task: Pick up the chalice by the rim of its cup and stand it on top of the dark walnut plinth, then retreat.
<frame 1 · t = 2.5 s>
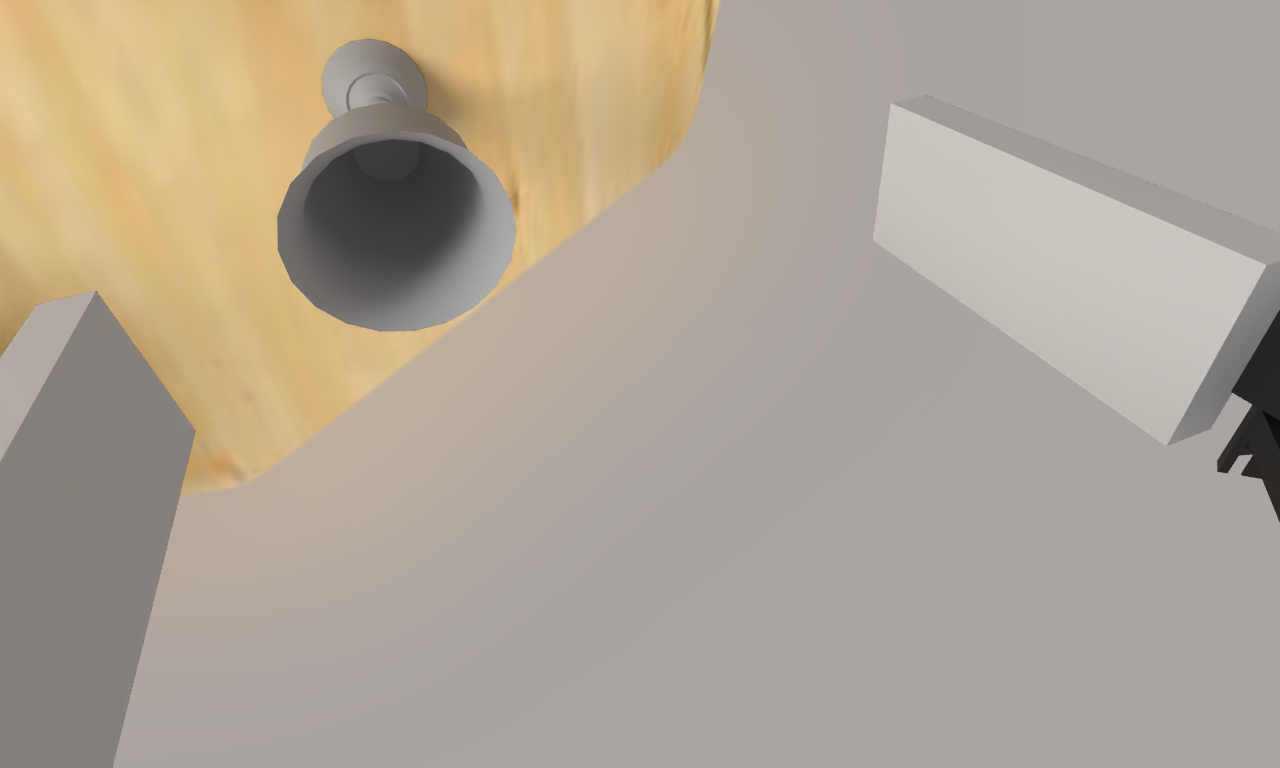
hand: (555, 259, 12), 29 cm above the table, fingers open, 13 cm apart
chalice: (375, 91, 35), on the table
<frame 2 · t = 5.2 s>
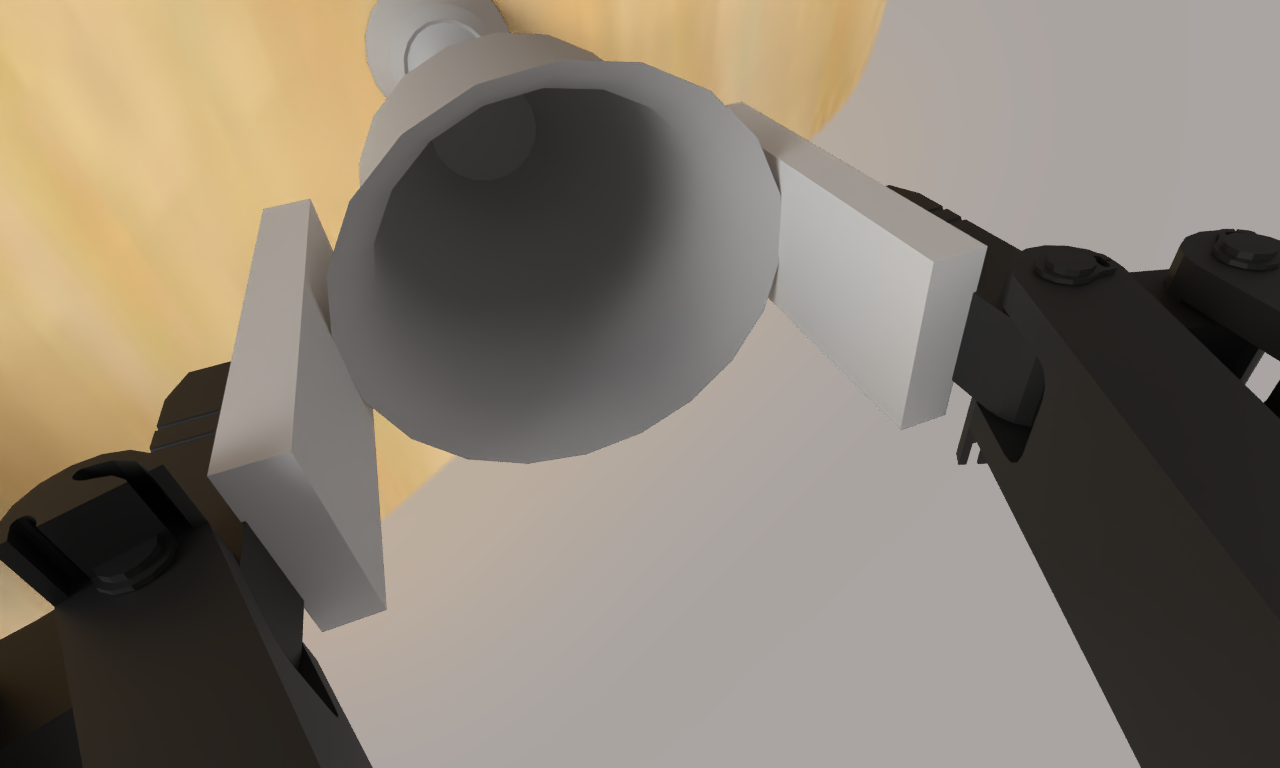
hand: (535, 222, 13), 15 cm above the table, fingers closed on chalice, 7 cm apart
chalice: (441, 53, 24), on the table, touching gripper
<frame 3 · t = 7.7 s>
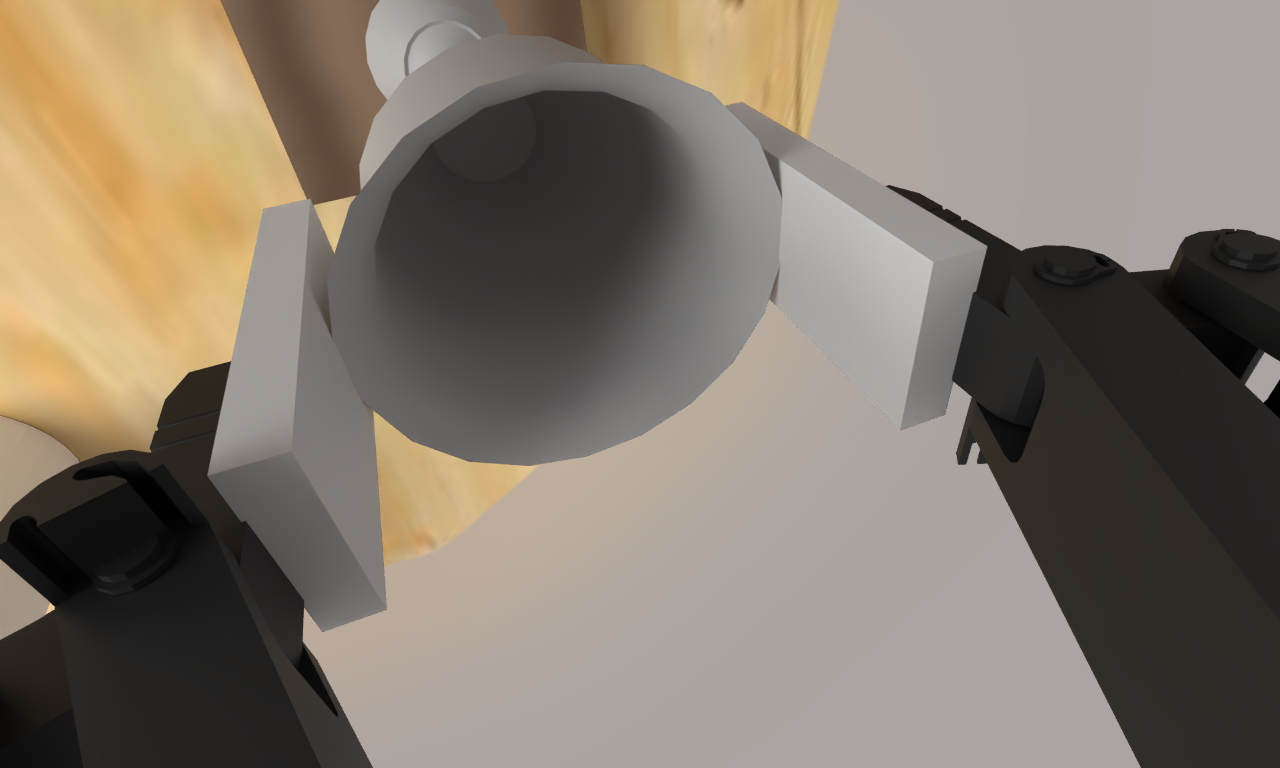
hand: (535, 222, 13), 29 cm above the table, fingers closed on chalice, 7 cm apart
chalice: (441, 54, 24), point 14 cm above the table, touching gripper
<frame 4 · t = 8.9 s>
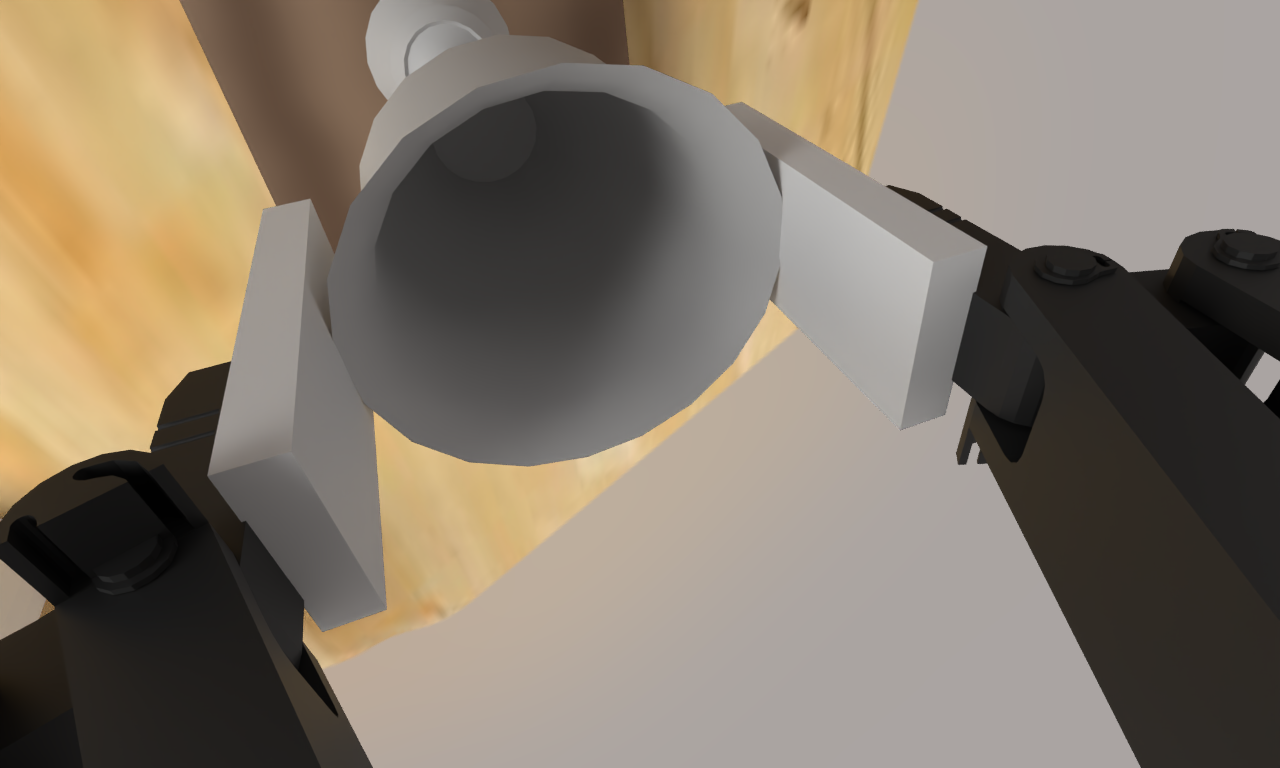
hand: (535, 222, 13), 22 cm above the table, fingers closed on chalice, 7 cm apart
plinth: (423, 20, 29), on the table
chalice: (441, 54, 24), point 6 cm above the table, touching gripper
when the fingers open (19 cm above the table, at t = 10.2 s): chalice stays where it is, resting on plinth.
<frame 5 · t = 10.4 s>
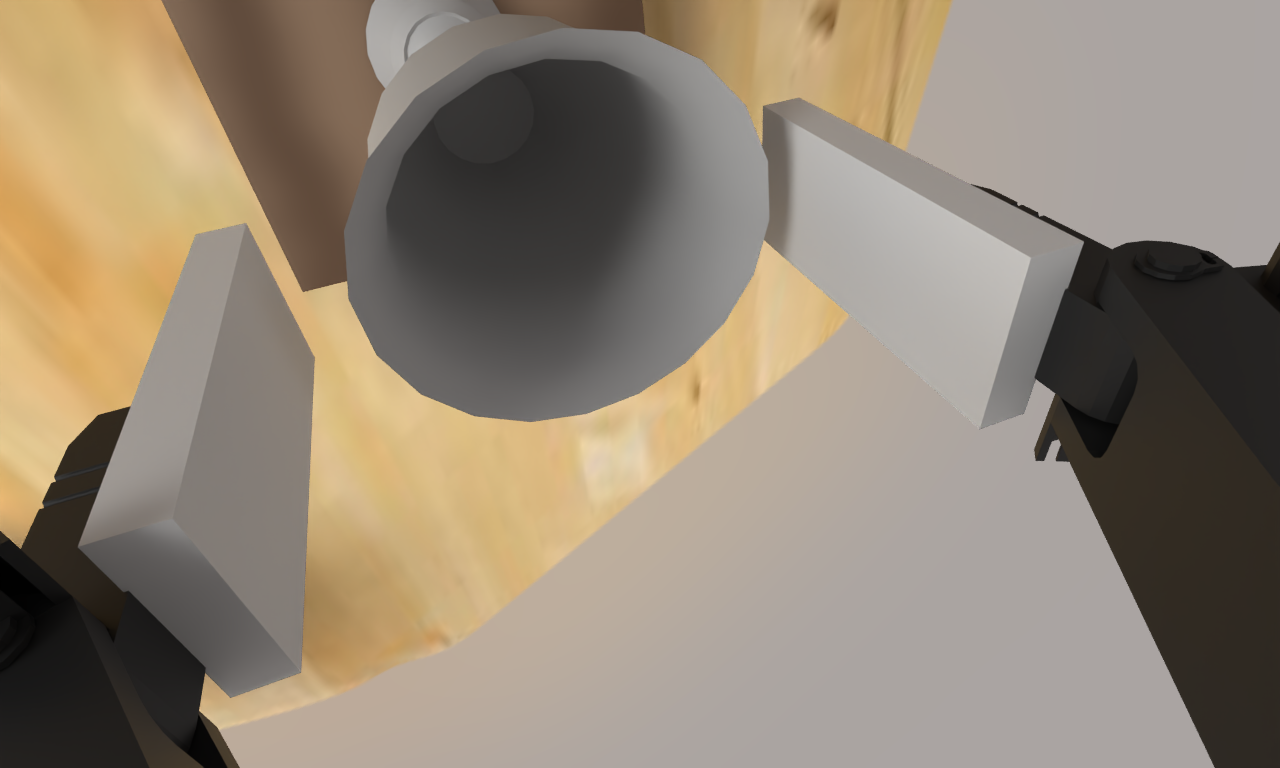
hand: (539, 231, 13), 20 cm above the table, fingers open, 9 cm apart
plinth: (430, 33, 27), on the table
chalice: (439, 46, 25), point 3 cm above the table, touching plinth
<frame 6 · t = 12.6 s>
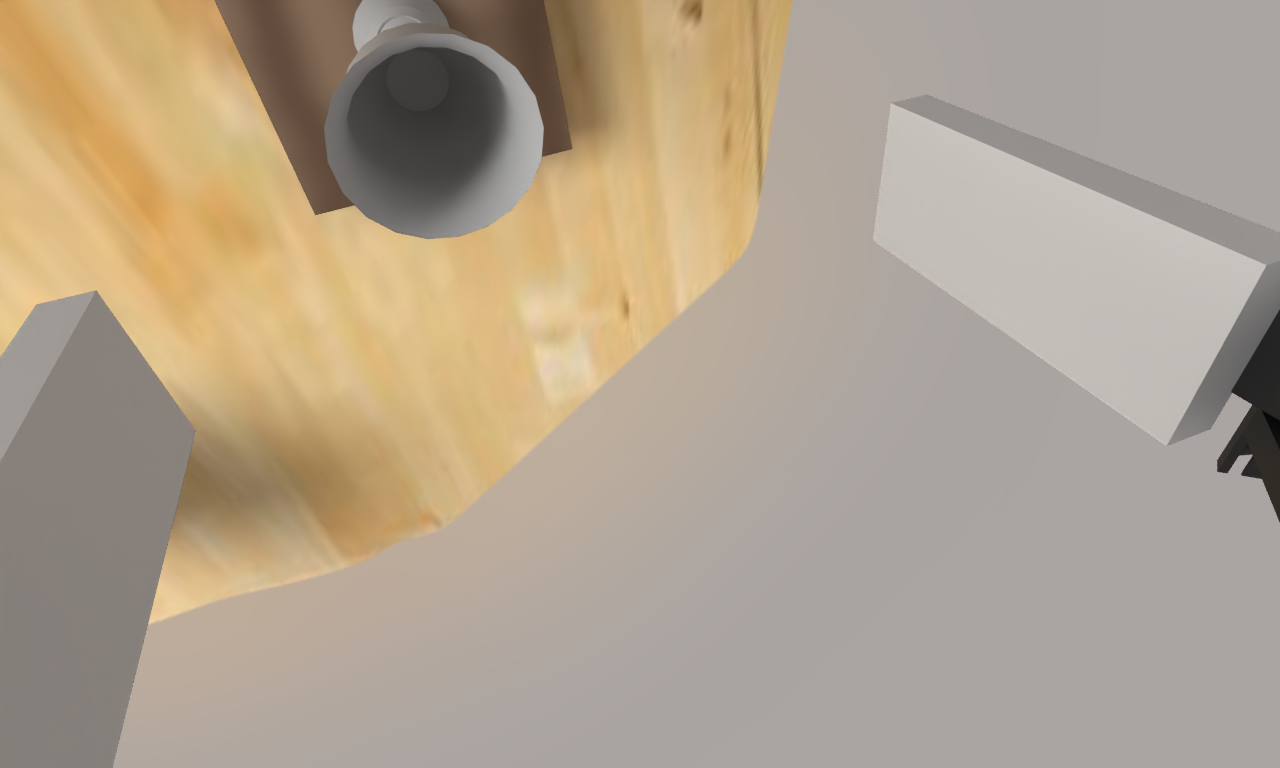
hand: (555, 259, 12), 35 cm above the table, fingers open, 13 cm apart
plinth: (398, 29, 39), on the table
chalice: (403, 37, 37), point 3 cm above the table, touching plinth
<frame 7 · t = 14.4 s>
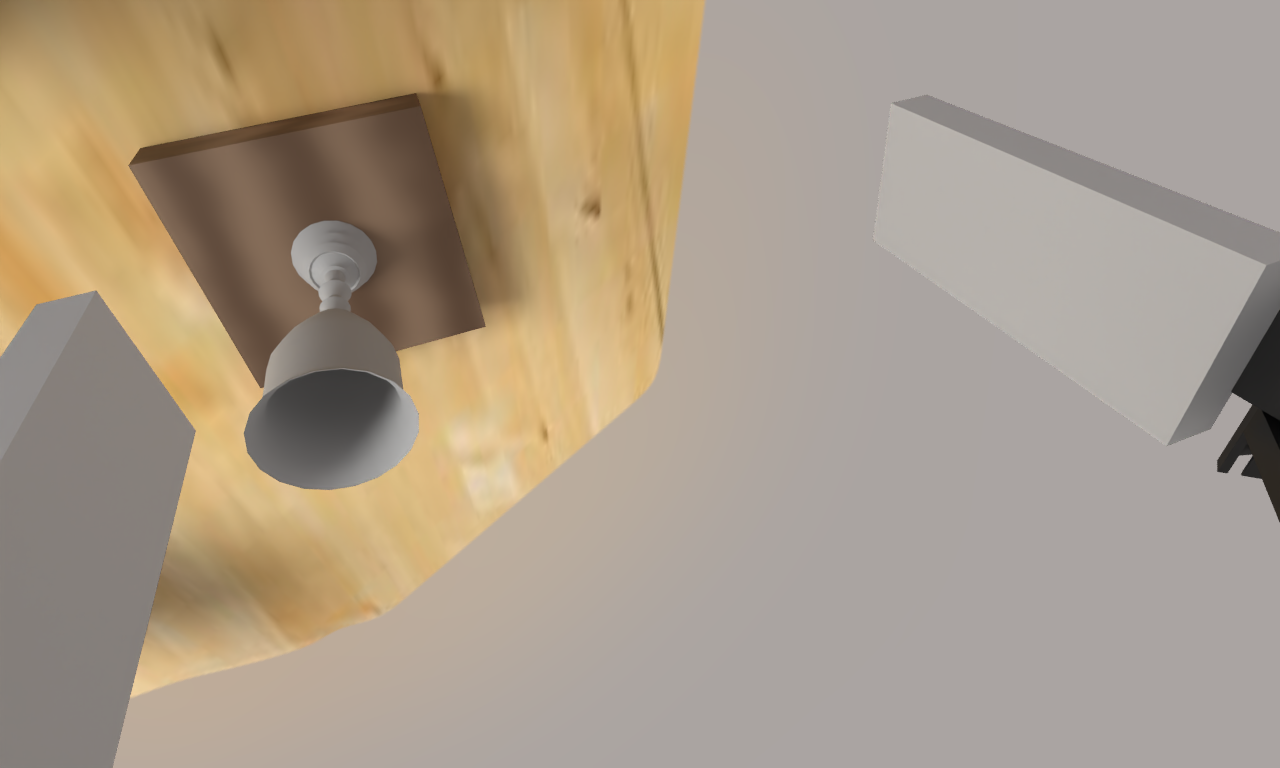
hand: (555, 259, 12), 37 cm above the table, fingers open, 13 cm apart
plinth: (334, 239, 46), on the table
chalice: (335, 256, 44), point 3 cm above the table, touching plinth
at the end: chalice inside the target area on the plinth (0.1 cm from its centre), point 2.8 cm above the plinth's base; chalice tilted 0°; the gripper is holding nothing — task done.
